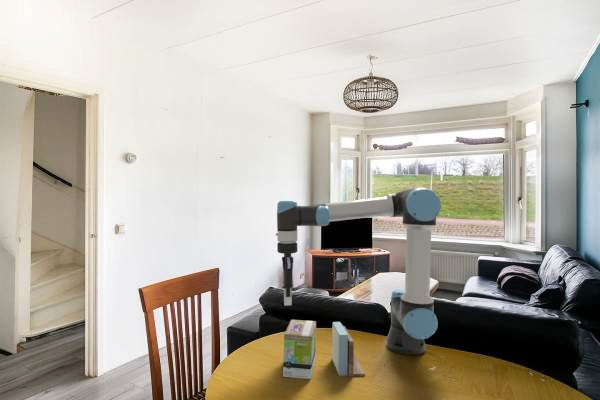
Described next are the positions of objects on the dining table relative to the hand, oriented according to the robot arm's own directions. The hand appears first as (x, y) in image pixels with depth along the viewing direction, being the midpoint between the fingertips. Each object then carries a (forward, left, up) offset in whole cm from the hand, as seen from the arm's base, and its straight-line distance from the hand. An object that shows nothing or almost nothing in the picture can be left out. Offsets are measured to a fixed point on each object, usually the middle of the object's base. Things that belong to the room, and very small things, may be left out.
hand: (287, 304), depth 128 cm
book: (-18, +7, -21) cm, 29 cm away
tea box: (-4, +7, -21) cm, 22 cm away
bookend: (-23, +7, -21) cm, 32 cm away
